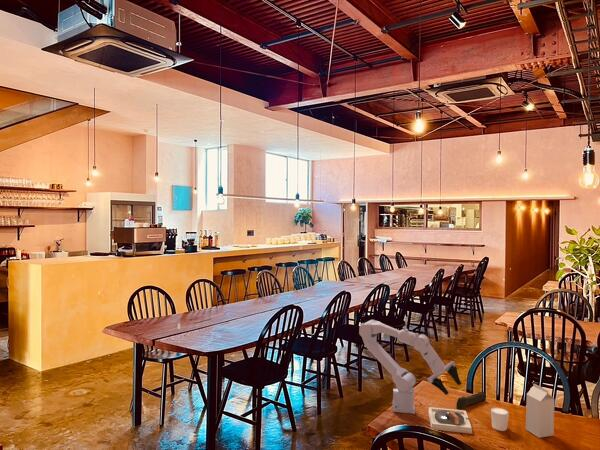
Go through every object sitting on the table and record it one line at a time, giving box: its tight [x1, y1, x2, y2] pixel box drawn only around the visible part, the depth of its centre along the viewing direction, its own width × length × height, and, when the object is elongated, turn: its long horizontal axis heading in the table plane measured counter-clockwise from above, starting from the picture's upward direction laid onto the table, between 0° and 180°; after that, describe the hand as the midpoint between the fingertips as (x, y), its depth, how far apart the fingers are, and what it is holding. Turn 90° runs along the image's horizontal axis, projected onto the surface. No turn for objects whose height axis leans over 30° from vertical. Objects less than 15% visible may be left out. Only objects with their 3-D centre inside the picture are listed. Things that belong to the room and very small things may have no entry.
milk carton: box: [525, 383, 555, 439], centre depth 179 cm, size 7×7×19 cm
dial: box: [435, 410, 464, 425], centre depth 187 cm, size 12×12×4 cm
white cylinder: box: [490, 407, 510, 432], centre depth 183 cm, size 7×7×7 cm
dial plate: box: [427, 406, 473, 435], centre depth 188 cm, size 16×16×2 cm
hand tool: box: [455, 391, 487, 410], centre depth 205 cm, size 19×4×5 cm, turn 120°
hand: (453, 389), depth 187 cm, fingers open, 7 cm apart
